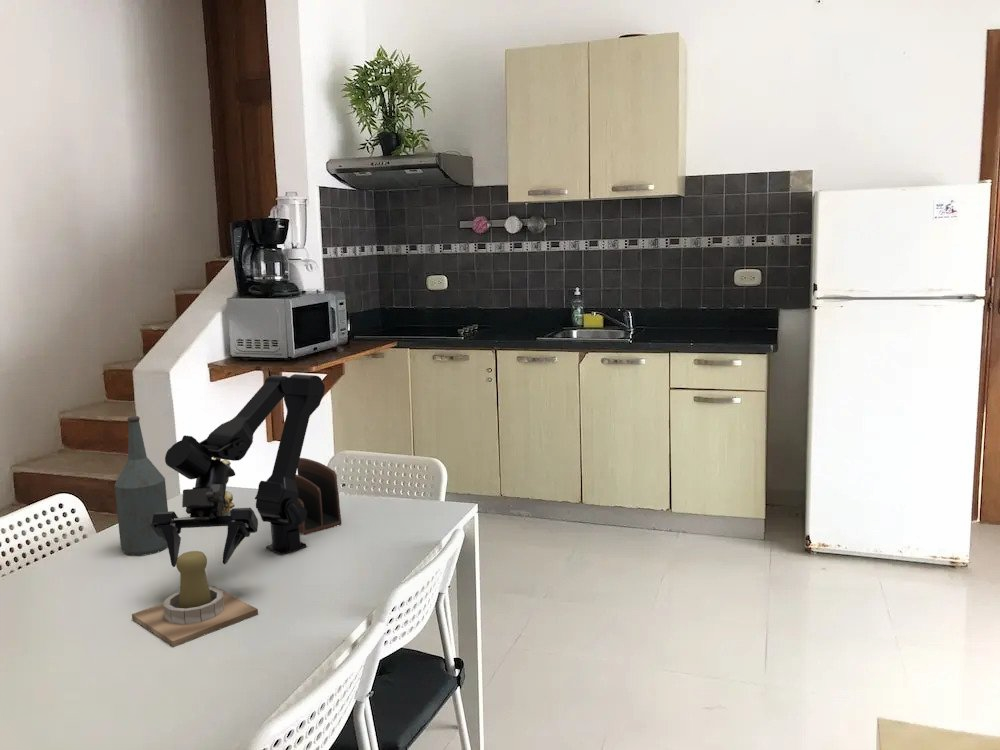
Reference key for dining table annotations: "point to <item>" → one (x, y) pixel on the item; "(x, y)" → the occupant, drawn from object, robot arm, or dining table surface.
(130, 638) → the dining table surface
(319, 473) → the letter holder
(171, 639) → the socket holder
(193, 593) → the cork
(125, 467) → the bottle
